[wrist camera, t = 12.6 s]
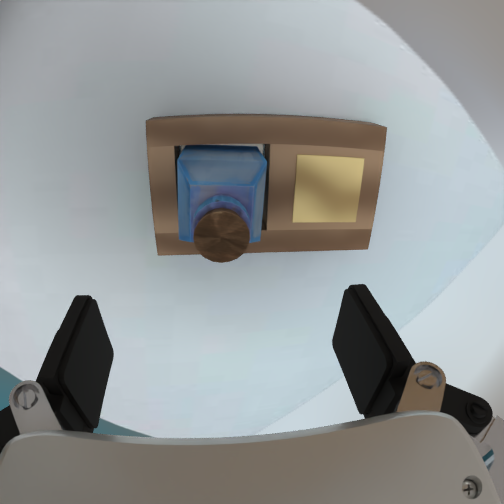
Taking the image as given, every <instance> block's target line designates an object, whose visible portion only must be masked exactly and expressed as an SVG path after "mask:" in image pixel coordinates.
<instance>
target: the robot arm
mask: <svg viewBox="0 0 504 504" xmlns="http://www.w3.org/2000/svg"><path fill="white" fill-rule="evenodd" d="M332 345H333V349H334V351H335V354H336V356H337V359H338V361H339V363H340V366H341V368H342V371H343V373H344V376H345V378H346V381H347V383H348V386H349V389H350V391H351V394H352V396H353V398H354V401H355V404H356V406H357V409H358V411H359V413H360V414H363V415H364V417H365V419H361V420H357V421H352V422H346V423H341V424H335V425H330V426H324V427H318V428H313V429H306V430H299V431H292V432H283V433H275V434H265V435H254V436H240V437H223V438H148V437H132V436H118V435H106V434H96V433H93V430H94V428H97V426H98V423H99V418H100V413H101V408H102V404H103V399H104V395H105V390H106V386H107V382H108V377H109V373H110V369H111V365H112V361H113V356H114V353H113V348H112V345H111V343H110V340H109V337H108V334H107V331H106V329H105V326H104V323H103V320H102V317H101V314H100V311H99V308H98V305H97V302H96V300H95V299H92V297H91V296H89V295H77V296H75V298H74V300H73V302H72V304H71V306H70V308H69V310H68V312H67V314H66V316H65V318H64V320H63V322H62V324H61V326H60V329H59V330H58V331H57V333H56V335H55V337H54V339H53V341H52V344H51V346H50V348H49V350H48V353H47V355H46V357H45V360H44V362H43V364H42V367H41V369H40V372H39V374H38V377H37V379H36V382H35V381H32V380H27V381H23V382H20V383H19V384H17V385H16V386H15V387H14V388H13V389H12V391H11V393H10V397H9V403H10V405H9V406H8V407H6V408H4V409H3V410H1V411H0V504H504V420H503V419H501V418H500V417H499V416H496V417H495V418H494V417H493V416H492V409H491V407H490V405H489V403H487V401H485V400H484V399H482V398H481V397H478V396H476V395H473V394H471V393H468V392H466V391H463V390H461V389H458V388H456V387H453V386H451V385H449V384H446V377H445V374H444V372H443V371H442V369H441V368H439V367H438V366H437V365H435V364H433V363H430V362H419V363H415V361H414V360H413V358H412V356H411V354H410V353H409V351H408V349H407V348H406V346H405V345H404V343H403V341H402V340H401V338H400V336H399V335H398V333H397V332H396V330H395V328H394V327H393V325H392V324H391V322H390V320H389V319H388V318H387V316H385V314H384V313H383V311H382V309H381V308H380V306H379V305H378V303H377V302H376V300H375V299H374V297H373V296H372V294H371V293H370V291H369V289H368V288H367V286H366V285H365V284H358V285H350V286H349V288H348V289H346V290H345V291H344V295H343V299H342V303H341V307H340V312H339V316H338V320H337V324H336V328H335V332H334V336H333V340H332Z"/></svg>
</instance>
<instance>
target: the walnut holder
mask: <svg viewBox="0 0 504 504" xmlns="http://www.w3.org/2000/svg"><path fill="white" fill-rule="evenodd" d="M386 132H387V127H384V126H381V125H378V124H374V123H369V122H362V121H353V120H344V119H334V118H323V117H310V116H294V115H271V114H205V115H182V116H166V117H153V118H151V119H149V120H146V137H147V154H148V168H149V180H150V191H151V202H152V211H153V220H154V229H155V237H156V245H157V253H158V255H192V254H200V253H199V252H198V250H197V249H196V247H195V245H194V242H187V241H182V240H179V226H178V173H177V160H178V158H179V145H181V153H182V151H183V149H184V148H185V146H186V145H237V146H257V147H258V149H259V150H260V152H261V153H262V155H263V144H265V159H266V161H267V169H266V181H265V192H264V204H263V215H262V226H261V237H260V241H258V242H252V243H249V245H248V247H247V249H246V251H245V252H244V253H261V252H295V251H329V250H363V249H368V246H369V241H370V236H371V231H372V226H373V221H374V215H375V210H376V204H377V198H378V192H379V186H380V179H381V172H382V165H383V157H384V150H385V141H386Z"/></svg>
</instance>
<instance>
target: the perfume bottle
mask: <svg viewBox="0 0 504 504" xmlns="http://www.w3.org/2000/svg"><path fill="white" fill-rule="evenodd" d="M266 169H267V161H266V159H265V158H264V156H263V155H262V153H261V152H260V150H259V149H258V147H257V146H237V145H186V146H185V148H184V149H183V151H182V153H181V154H180V156H179V158H178V160H177V173H178V226H179V240H182V241H187V242H194V245H195V247H196V249H197V250H198V252H199V253H200V254H201V255H202V256H203V257H204V258H206V259H208V260H211V261H213V262H220V263H222V262H230V261H232V260H235V259H237V258H238V257H240V256H241V255H242V254H243V253H244V252H245V251H246V249H247V247H248V245H249V243H252V242H258V241H260V237H261V226H262V215H263V204H264V192H265V181H266Z"/></svg>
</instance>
